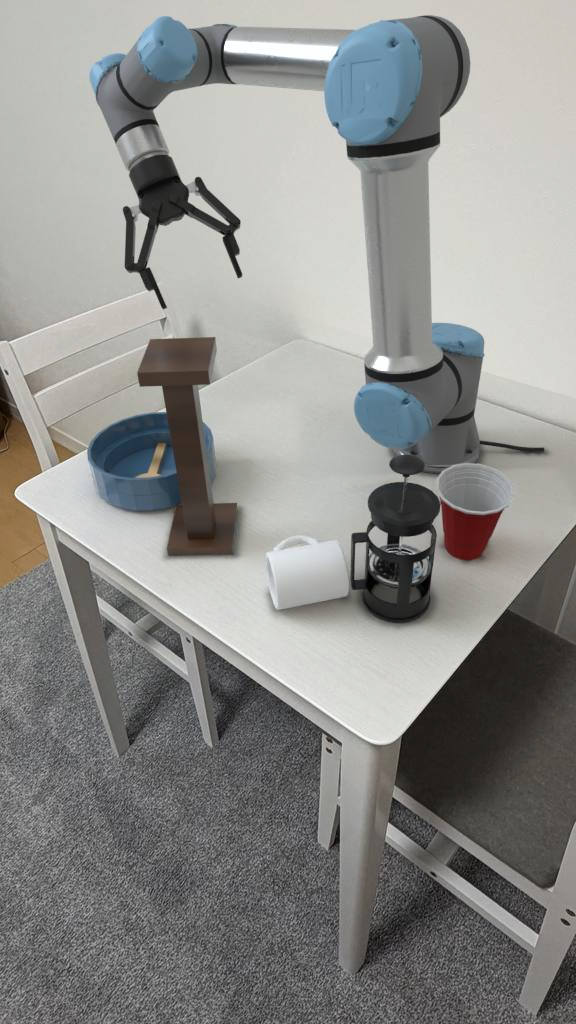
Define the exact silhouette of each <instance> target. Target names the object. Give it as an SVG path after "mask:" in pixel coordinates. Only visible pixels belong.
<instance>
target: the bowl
mask: <svg viewBox="0 0 576 1024" xmlns="http://www.w3.org/2000/svg"><path fill="white" fill-rule="evenodd" d="M203 428H204V435H205V443H206V450H207V458H208V465H209V473H210V480H211V484H212V483H213V481H214V479H215V478H216V475H217V468H218V464H217V458H216V450H215V449H216V447H215V440H214V435H213V432H212V430H211V428H210V427H209V426H208V425H207V424H206V423H205V422H204V421H203ZM158 443H166V444H167V449H166V452H165V455H164V459H163V462H162V465H161V468H160V471H159V475H161V476H155V477H149V478H135V477H137V476H139V475H142V474H146V473H148V471H149V468H150V465H151V462H152V459H153V456H154V453H155V450H156V447H157V445H158ZM86 455H87V462H88V465H89V469H90V473H91V478H92V481H93V484H94V489H95V490H96V492H97V493H98V496H99V497H100V498H101V499H103V500H104V501H105V502H107V503H108V504H110V505H112V506H115V507H117V508H120V509H123V510H131V511H138V512H141V511H142V512H143V511H157V510H163V509H167V508H173V507H176V504H182V502H181V496H180V490H179V484H178V478H177V472H176V466H175V460H174V454H173V448H172V443H171V437H170V431H169V425H168V419H167V413H166V411H156V412H155V411H154V412H147V413H141V414H135V415H132V416H128V417H124V418H123V419H120V420H118V421H116V422H113V423H111V424H109V425H108V426H106V427H105V428H104V429H103V428H102V430H100V431H99V432H98V433H97V434H96V435H95V436H94V437H93V438H92V440H90V443H89V444H88V447H87V449H86Z"/></svg>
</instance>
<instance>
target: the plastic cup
mask: <svg viewBox="0 0 576 1024" xmlns="http://www.w3.org/2000/svg"><path fill="white" fill-rule="evenodd" d="M435 481H436V482H435V491H436V492H437V494H438V496H439V497H438V498H439V500H440V509H441V520H442V532H443V539H444V546H445V550H446V551H447V553H448V555H450V556H451V557H453V558H455V559H458V560H461V561H473V560H477V559H479V558H481V557H482V555H483V554H484V552H485V550H486V549H487V547H488V544H489V542H490V539H491V538H492V536H493V535H494V531H495V530H496V527H497V525H498V523H499V520H500V517H501V515H502V514H503V512H504V511H505V509H507V508H508V507H509V506H510V504H511V503H512V501H513V499H514V497H516V495H515V486H514V484H513V482H512V480H511V479H510V478H509V476H507V475H506V474H505V473H503V472H501V471H500V470H499V469H497V468H494V467H492V466H489V465H486V464H483V463H463V464H457V465H453V466H451V467H449V468H447V469H445V470H443V471H442V472H441V473H439V474H438V476H437V478H436V480H435Z"/></svg>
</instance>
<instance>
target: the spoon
mask: <svg viewBox="0 0 576 1024" xmlns="http://www.w3.org/2000/svg"><path fill="white" fill-rule="evenodd" d="M166 449H167V444H166V443H158V445H157V447H156V450H155V453H154V456H153V459H152V462H151V465H150V468H149V471H148V473H146V474H142V475H139V476H137V477H135V478H149V477H155V476H161V475H159V471H160V468H161V465H162V462H163V459H164V455H165V452H166Z"/></svg>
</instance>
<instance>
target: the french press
mask: <svg viewBox="0 0 576 1024" xmlns="http://www.w3.org/2000/svg"><path fill="white" fill-rule="evenodd" d="M388 465H389V468H390V469H391V470H392V471H393V472H394V473H395V474H399V475H401V476H402V477H403V478H404V480H403V481H393V482H389V483H384V484H383V485H380V486H378V487H376V488H375V489H373V490H372V491H371V492H370V494H369V495H368V498H367V508H368V511H369V512H370V519H371V521H369V523H368V525H367V527H366V531H362V532H353V533H351V536H350V569H349V570H350V572H349V573H350V576H349V583H350V586H351V590H352V591H362V594H361V599H362V603H363V605H364V607H365V609H366V610H367V611H368V612H369V613H370V614H371V615H372V616H374V617H375V618H377V619H379V620H382V621H384V622H387V623H393V624H405V623H410V622H413V621H416V620H418V619H420V618H421V617H423V615H425V614H426V613H427V611H428V610H429V607H430V605H431V594H430V593H431V592H430V591H431V585H432V575H433V567H434V560H435V552H436V544H437V537H438V536H437V535H438V534H437V533H438V532H437V530H436V527H435V525H433V524H434V521H435V520H436V518H437V517H438V516H439V514H440V512H441V503H440V498H439V497H438V496H437V494H436V493H435V492H434V491H433V490H431V489H430V488H428V487H426V486H424V485H421V484H419V483H414V482H408V478H409V477H411V476H415V475H418V474H420V473H422V472H423V470H424V468H425V463H424V462H423V460H422V459H420V458H419V457H416V456H413V455H399V456H396V455H395V456H394V457H392V458H391V459H390V461H389V463H388ZM375 527H376V528H377V529H379V530H380V531H381V532H383V533H385V534H387V535H386V536H387V537H386V544H385V545H381V546H380V547H379V546H377V545H376V544H375V543H373V541H372V540H371V538H370V536H369V534H370V533H371V531H372V530H373V529H374V528H375ZM427 532H429V533H430V534H431V536H430V545H429V547H427V548H426V549H425V550H423V551H422V550H420V549H418V548H417V547H414V546H411V545H408V544H403V538H409V537H416V536H420V535H422V534H423V535H424V534H425V533H427ZM361 543H362V544H363V543H365V556H364V557H365V558H364V578H363V579H361V578H360V579H355V575H356V574H355V572H356V567H355V566H356V544H361ZM370 552H371V553H370ZM379 584H381V585H383V586H385V587H387V588H390V589H397V596H396V603H395V602H389V601H385V600H383V599H381V598H379V597H378V596H377V595H375V594H374V593H373V591H374V589H375V587H376V586H378V585H379ZM412 588H416V590H417V591H418V592H419V595H420V598H418V599H416V600H414V601H411V596H412Z"/></svg>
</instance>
